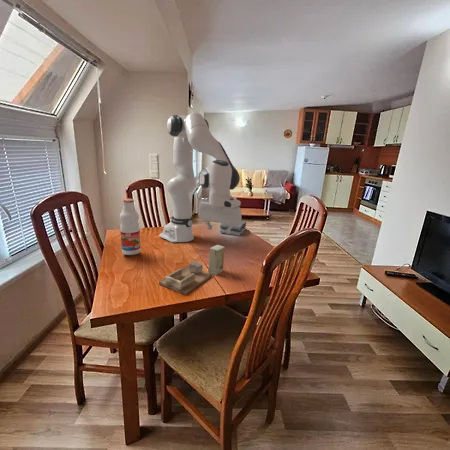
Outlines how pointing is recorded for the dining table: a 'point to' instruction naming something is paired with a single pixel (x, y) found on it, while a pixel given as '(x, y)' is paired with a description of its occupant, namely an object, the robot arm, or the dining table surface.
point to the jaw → (195, 267)
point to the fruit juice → (129, 228)
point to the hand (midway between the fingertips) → (218, 231)
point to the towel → (233, 228)
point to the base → (184, 280)
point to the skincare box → (216, 259)
